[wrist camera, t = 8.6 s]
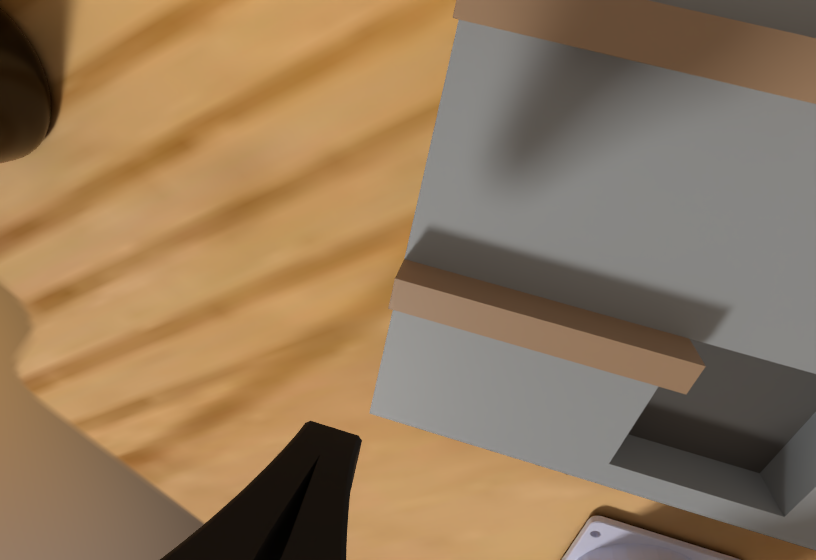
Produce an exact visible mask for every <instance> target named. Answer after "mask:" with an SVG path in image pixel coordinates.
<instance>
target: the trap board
mask: <svg viewBox="0 0 816 560" xmlns="http://www.w3.org/2000/svg"><path fill="white" fill-rule="evenodd" d="M453 18H455V19H458V20H459V22H458V26H457V30H456V35H455V39H454V44H453V48H452V52H451V57H450V61H449V66H448V70H447V74H446V79H445V83H444V88H443V92H442V96H441V101H440V105H439V110H438V114H437V118H436V123H435V127H434V132H433V136H432V140H431V145H430V149H429V154H428V158H427V162H426V167H425V171H424V176H423V180H422V184H421V189H420V193H419V198H418V202H417V206H416V211H415V215H414V220H413V224H412V228H411V233H410V237H409V242H408V246H407V250H406V255H405V259H404V261H403V263H402V265H401V267H400V269H399V271H398V274H397V276H396V278H395V281H394V286H393V290H392V295H391V299H390V304H389V308H388V309H392V310H393V312H392V316H391V321H390V325H389V330H388V334H387V338H386V343H385V347H384V352H383V356H382V360H381V365H380V369H379V374H378V378H377V382H376V387H375V391H374V396H373V400H372V404H371V409H370V414H373V415H376V416H380V417H383V418H386V419H389V420H393V421H396V422H399V423H402V424H406V425H409V426H412V427H415V428H419V429H422V430H425V431H428V432H432V433H435V434H438V435H441V436H445V437H448V438H451V439H454V440H458V441H461V442H464V443H468V444H471V445H474V446H477V447H481V448H484V449H487V450H490V451H494V452H497V453H500V454H503V455H507V456H510V457H513V458H516V459H520V460H523V461H526V462H529V463H533V464H536V465H539V466H542V467H546V468H549V469H552V470H555V471H559V472H562V473H565V474H568V475H572V476H575V477H578V478H581V479H585V480H588V481H591V482H594V483H598V484H601V485H604V486H607V487H611V488H614V489H617V490H620V491H624V492H627V493H630V494H633V495H637V496H640V497H643V498H646V499H650V500H653V501H656V502H659V503H663V504H666V505H669V506H673V507H676V508H679V509H682V510H686V511H689V512H692V513H695V514H699V515H702V516H705V517H708V518H712V519H715V520H718V521H721V522H725V523H728V524H731V525H734V526H738V527H741V528H744V529H747V530H751V531H754V532H757V533H760V534H764V535H767V536H770V537H773V538H777V539H780V540H783V541H786V542H790V543H793V544H796V545H799V546H803V547H806V548H809V549H812V550H816V0H457V1H456V5H455V10H454V14H453Z"/></svg>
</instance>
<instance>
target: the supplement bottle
mask: <svg viewBox="0 0 816 560" xmlns="http://www.w3.org/2000/svg"><path fill="white" fill-rule="evenodd" d="M50 118H51V98H50V91H49V86H48V82H47V79H46V76H45V73H44V70H43V68H42V65H41V63H40V61H39V59H38V57H37V55H36V53H35V51H34V49H33V47H32V46H31V44H30V43H29V41H28V39H27V38H26V37H25V35H24V34H23V32H22V31H21V30H20V29H19V27H18V26H17V25H16V24H15V22H14V21H13V20H12V19H11V18H10V17H9V16H8V15H7V14H6V13H5V12H4V11H3V10H2V9H1V8H0V163H4V162H8V161H13V160H16V159H19V158H22V157H24V156H26V155H28V154H30V153H31V152H32V151H34V150H35V149H36V148H37V147H38V146H39V145H40V143H41V142H42V140H43V139H44V137H45V135H46V133H47V130H48V127H49V124H50Z"/></svg>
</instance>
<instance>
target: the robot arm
mask: <svg viewBox="0 0 816 560" xmlns="http://www.w3.org/2000/svg"><path fill="white" fill-rule="evenodd" d="M361 442H362V440H361V439H360V437H359V436H357V435H354V434H351V433H348V432H345V431H341V430H338V429H335V428H332V427H329V426H325V425H322V424H319V423H316V422H313V421H309V422H307V423H305V425H304V426H303V427H302V428H301V430H300V431H299V432H298V433H297V434H296V436H295V437H294V438H293V439H292V440H291V441H290V442H289V444H288V445H287V446H286V447H285V448H284V449H283V450H282V451H281V452H280V453H279V454H278V456H277V457H276V458H275V459H274V460H273V461H272V462H271V463H270V464H269V465H268V466H267V467H266V468H265V469H264V470H263V471H262V472H261V473H260V474H259V475H258V476H257V477H256V478H255V479H254V480H253V481H252V482H251V483H250V484H249V485H248V486H247V487H246V488H245V489H243V490H242V491H241V492H240V493H239V494H238V495H237V496H236V497H235V498H234V499H232V500H231V501H230V502H229V503H228V504H227V505H226V506H225V507H223V508H222V509H221V510H220V511H219V512H218V513H217V514H216V515H214V516H213V517H212V518H211V519H210V520H209V521H208V522H206V523H205V524H204V525H203V526H202V527H200V528H199V529H198V530H197V531H196V532H195V533H193V534H192V535H191V536H190V537H188V538H187V539H186V540H185V541H183V542H182V543H181V544H179V545H178V546H177V547H176V548H174V549H173V550H172V551H171V552H169V553H168V554H167V555H165V556H164V557H163V558H162V559H160V560H346V543H347V524H348V510H349V498H350V490H351V487H352V482H353V478H354V473H355V469H356V464H357V460H358V455H359V451H360V447H361ZM562 560H741V559H737V558H734V557H731V556H728V555H725V554H721V553H718V552H715V551H712V550H709V549H705V548H702V547H699V546H696V545H693V544H689V543H686V542H683V541H680V540H677V539H673V538H670V537H667V536H664V535H661V534H657V533H654V532H651V531H648V530H645V529H641V528H638V527H635V526H632V525H629V524H625V523H622V522H619V521H616V520H613V519H609V518H606V517H603V516H592V517H591V518H589V519H588V521H587V522H586V524H585V525H584V527H583V528H582V530H581V531H580V533H579V534H578V536H577V537H576V539H575V540H574V542H573V543H572V545H571V546H570V548H569V549H568V551H567V552H566V554H565V555H564V557H563V558H562Z"/></svg>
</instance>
